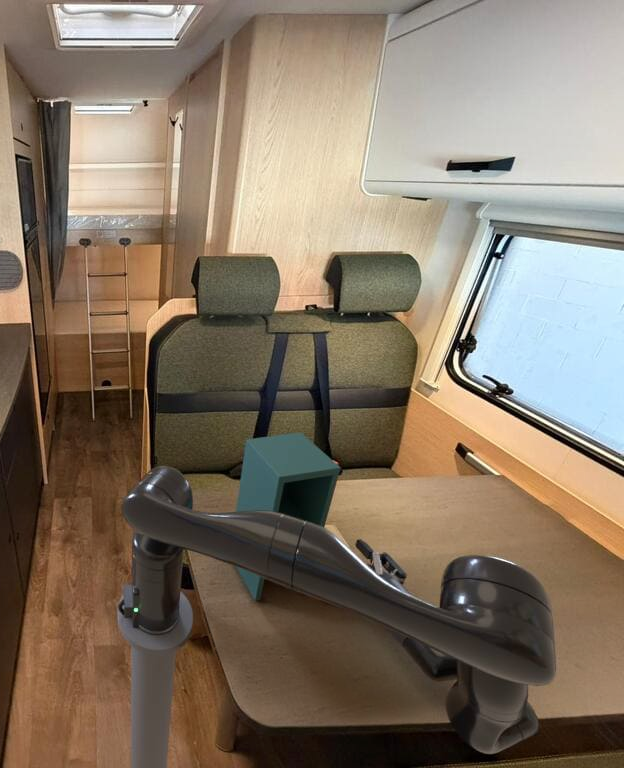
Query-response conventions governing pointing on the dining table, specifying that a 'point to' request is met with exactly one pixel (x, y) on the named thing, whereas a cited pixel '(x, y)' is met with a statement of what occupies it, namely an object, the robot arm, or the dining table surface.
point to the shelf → (285, 484)
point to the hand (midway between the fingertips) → (340, 545)
